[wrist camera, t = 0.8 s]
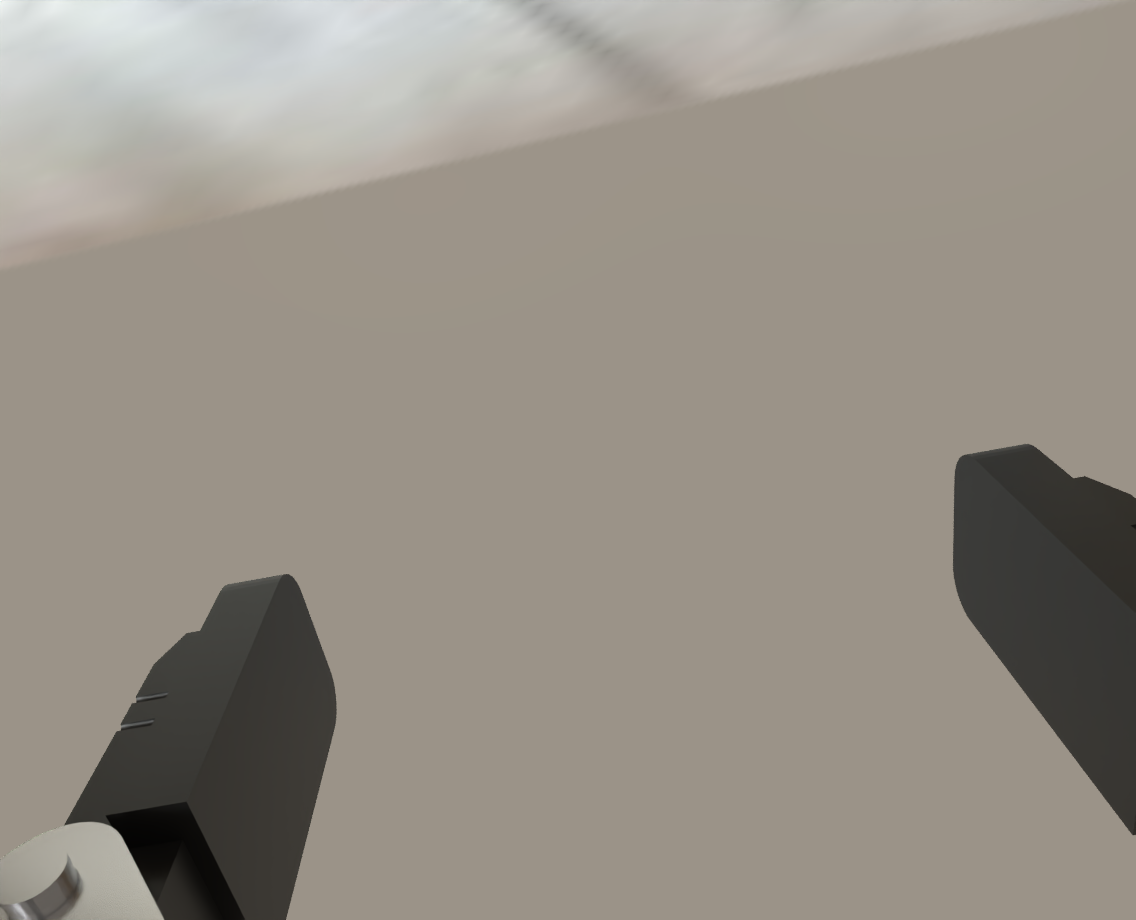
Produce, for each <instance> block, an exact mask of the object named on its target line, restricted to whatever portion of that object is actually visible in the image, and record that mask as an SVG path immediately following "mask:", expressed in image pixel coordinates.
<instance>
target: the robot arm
mask: <svg viewBox="0 0 1136 920" xmlns="http://www.w3.org/2000/svg"><path fill="white" fill-rule="evenodd" d="M953 572H954V579H955V585H956V589H957V592H958V596H959V599H960V601H961V604H962V606H963V608H964V610H965V612H966V614H967V616H968V618H969V619H970V620H971V622H972V623H973V624H974V626H975V627H976V629H977V630H978V631H979V632H980V634H981V635H982V636H983V638H984V639H985V640H986V642H987V643H988V644H989V646H990V647H991V648H992V650H993V651H994V652H995V654H996V655H997V656H998V658H999V659H1000V660H1001V662H1002V663H1003V664H1004V666H1005V667H1006V668H1007V669H1008V671H1009V672H1010V673H1011V675H1012V676H1013V677H1014V679H1015V680H1016V681H1017V683H1018V684H1019V685H1020V687H1021V688H1022V689H1023V691H1024V692H1025V693H1026V695H1027V696H1028V697H1029V699H1030V700H1031V701H1032V703H1033V704H1034V705H1035V706H1036V708H1037V709H1038V711H1040V713H1041V714H1042V716H1043V717H1044V718H1045V720H1046V721H1047V722H1048V724H1049V725H1050V726H1051V728H1052V729H1053V730H1054V732H1055V733H1056V734H1057V736H1058V737H1059V738H1060V740H1061V741H1062V742H1063V744H1064V745H1065V746H1066V748H1067V749H1068V750H1069V752H1070V753H1071V754H1072V755H1073V757H1074V758H1075V759H1076V761H1077V762H1078V763H1079V765H1080V766H1081V767H1082V769H1083V770H1084V771H1085V773H1086V774H1087V775H1088V777H1089V778H1090V779H1091V780H1092V782H1093V783H1094V784H1095V786H1096V787H1097V789H1098V790H1099V791H1100V793H1101V794H1102V795H1103V797H1104V798H1105V799H1106V800H1107V802H1108V803H1109V804H1110V806H1111V807H1112V808H1113V810H1114V811H1115V812H1116V814H1117V815H1118V816H1119V818H1120V819H1121V820H1122V822H1123V823H1124V824H1125V826H1126V827H1127V828H1128V830H1129V831H1130V832H1131V833H1132V835H1136V498H1134V497H1133V496H1132V495H1130V494H1128V493H1126V492H1123V491H1121V490H1118V489H1115V488H1113V487H1110V486H1108V485H1105V484H1103V483H1100V482H1098V481H1095V480H1093V479H1090V478H1088V477H1085V476H1084V477H1079V478H1072V477H1071V476H1070V475H1069V474H1067V473H1066V472H1065V471H1064V470H1063V469H1061V468H1060V467H1059V466H1058V465H1057V464H1055V463H1054V462H1053V461H1052V460H1050V459H1049V458H1048V457H1047V456H1046V455H1044V454H1043V453H1042V452H1041V451H1040V450H1038V449H1037V448H1036V447H1034V446H1032V445H1029V444H1023V445H1018V446H1012V447H1007V448H1001V449H995V450H990V451H984V452H978V453H973V454H967V455H964V456H962V457H961V458H959V460H958V462H957V465H956V469H955V487H954V543H953ZM136 699H137V702H136V703H133V704H132V705H131V707H130V708H129V710H128V712H127V714H126V715H125V717H124V719H123V721H122V723H121V731H117V732H116V733H115V735H114V737H113V739H112V741H111V742H110V744H109V746H108V748H107V750H106V752H105V753H104V755H103V757H102V758H101V761H100V762H99V764H98V766H97V767H96V769H95V771H94V773H93V775H92V776H91V778H90V780H89V782H88V784H87V785H86V787H85V789H84V791H83V793H82V794H81V796H80V798H79V800H78V801H77V803H76V805H75V807H74V809H73V810H72V812H71V814H70V816H69V818H68V819H67V821H66V823H65V825H64V826H62V827H59V828H55V829H52V830H50V831H47V832H45V833H43V834H40V835H38V836H36V837H34V838H33V839H31V840H29V841H27V842H25V843H23V844H22V845H20V846H19V847H17V848H15V849H14V850H12V851H11V852H9V853H8V854H7V855H5V856H4V857H3V858H1V859H0V920H286V917H287V913H288V909H289V905H290V901H291V897H292V893H293V890H294V886H295V882H296V878H297V874H298V870H299V866H300V862H301V858H302V854H303V850H304V846H305V842H306V838H307V835H308V831H309V827H310V823H311V819H312V815H313V810H314V807H315V803H316V799H317V795H318V791H319V787H320V783H321V779H322V775H323V771H324V768H325V764H326V760H327V755H328V752H329V748H330V744H331V740H332V736H333V732H334V728H335V723H336V694H335V687H334V682H333V678H332V675H331V672H330V669H329V666H328V663H327V661H326V658H325V655H324V652H323V650H322V647H321V644H320V642H319V639H318V636H317V634H316V631H315V628H314V625H313V622H312V620H311V617H310V615H309V612H308V609H307V606H306V603H305V601H304V598H303V595H302V593H301V590H300V588H299V586H298V584H297V582H296V581H295V579H294V578H293V577H292V576H290V575H289V574H284V575H279V576H273V577H267V578H262V579H256V580H251V581H245V582H239V583H234V584H228V585H226V586H224V587H223V588H222V590H221V591H220V593H219V595H218V597H217V599H216V601H215V603H214V605H213V607H212V609H211V611H210V613H209V615H208V617H207V618H206V621H205V622H204V624H203V626H202V628H201V630H200V631H197V632H191V633H187V634H185V636H183V637H182V638H181V640H179V641H178V642H177V643H176V644H175V645H174V646H173V647H172V648H171V649H170V650H169V651H168V652H167V653H165V654H164V655H163V657H161V658H160V659H159V660H158V661H157V662H156V663H155V664H154V666H153V667H152V669H151V671H150V673H149V674H148V676H147V678H146V680H145V681H144V683H143V685H142V687H141V689H140V690H139V692H138V694H137V696H136Z"/></svg>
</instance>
